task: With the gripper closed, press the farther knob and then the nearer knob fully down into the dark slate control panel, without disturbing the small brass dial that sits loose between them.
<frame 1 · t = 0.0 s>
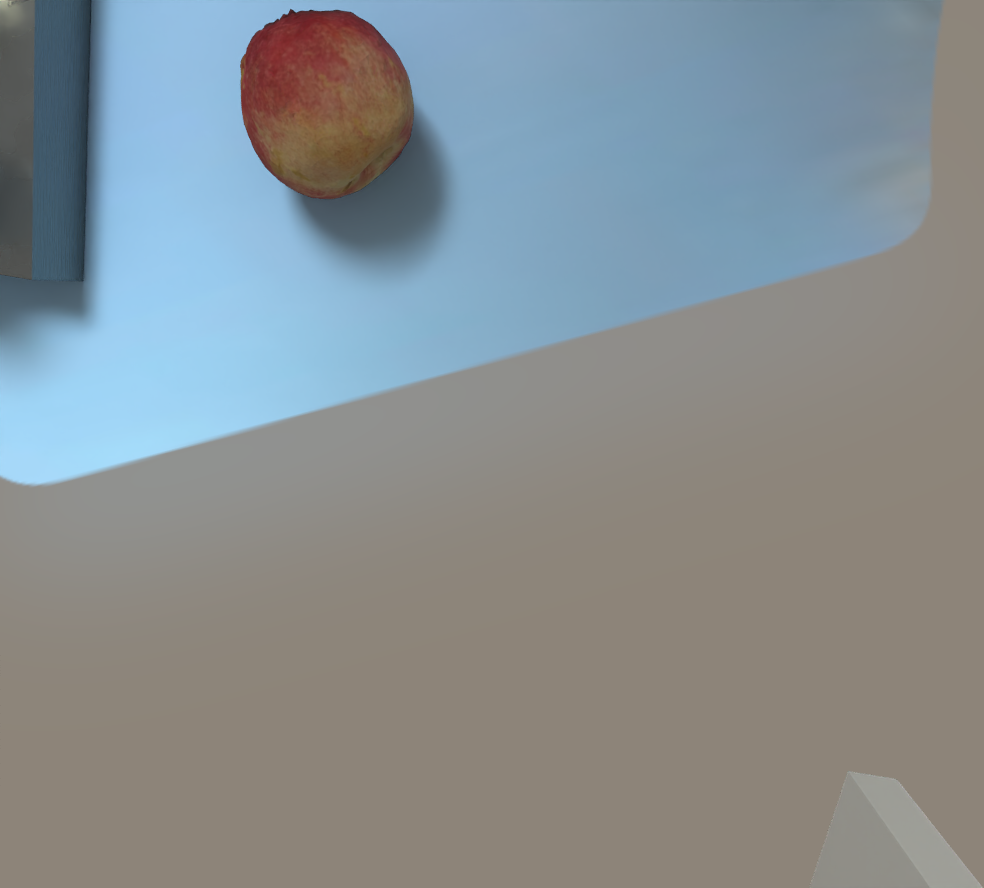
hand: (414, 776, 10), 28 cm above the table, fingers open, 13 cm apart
fruit: (350, 128, 35), on the table
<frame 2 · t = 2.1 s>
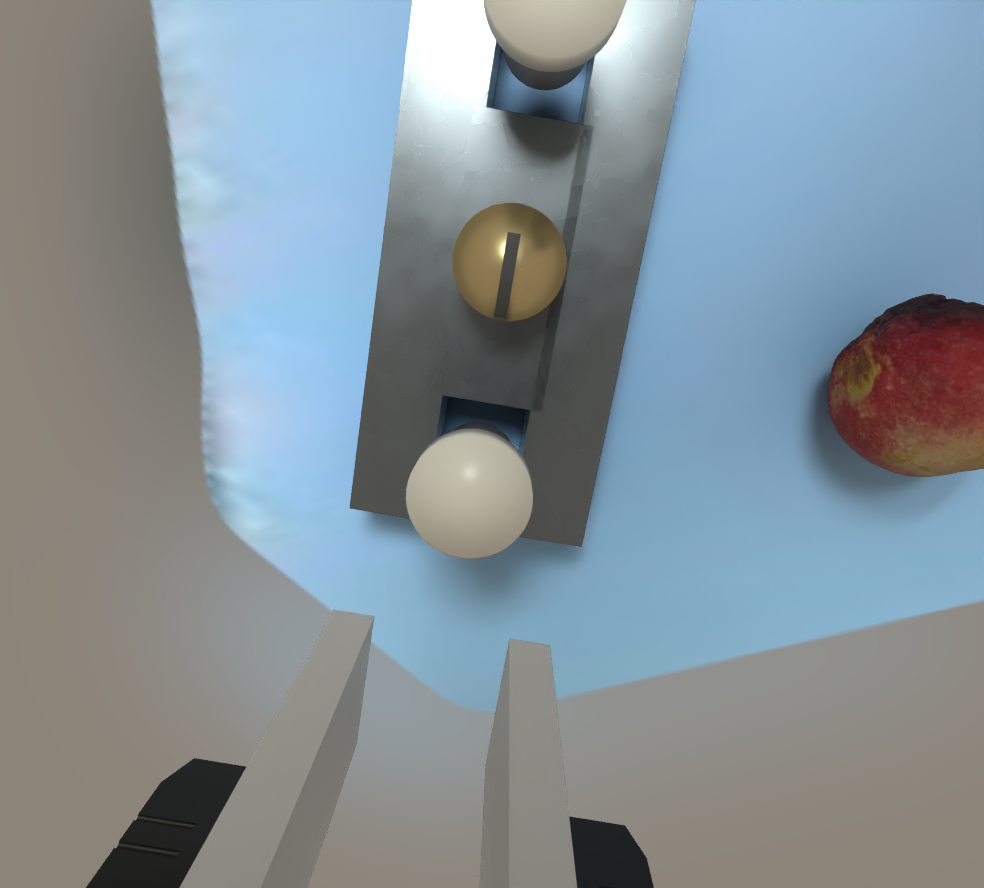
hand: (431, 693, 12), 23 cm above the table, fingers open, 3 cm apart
panel: (509, 268, 33), on the table
fruit: (877, 374, 33), on the table
brass dial: (509, 265, 29), point 4 cm above the table, touching panel
knob 2: (473, 477, 27), point 8 cm above the table, slide at 0.0 cm
knob 1: (550, 12, 23), point 8 cm above the table, slide at 0.0 cm
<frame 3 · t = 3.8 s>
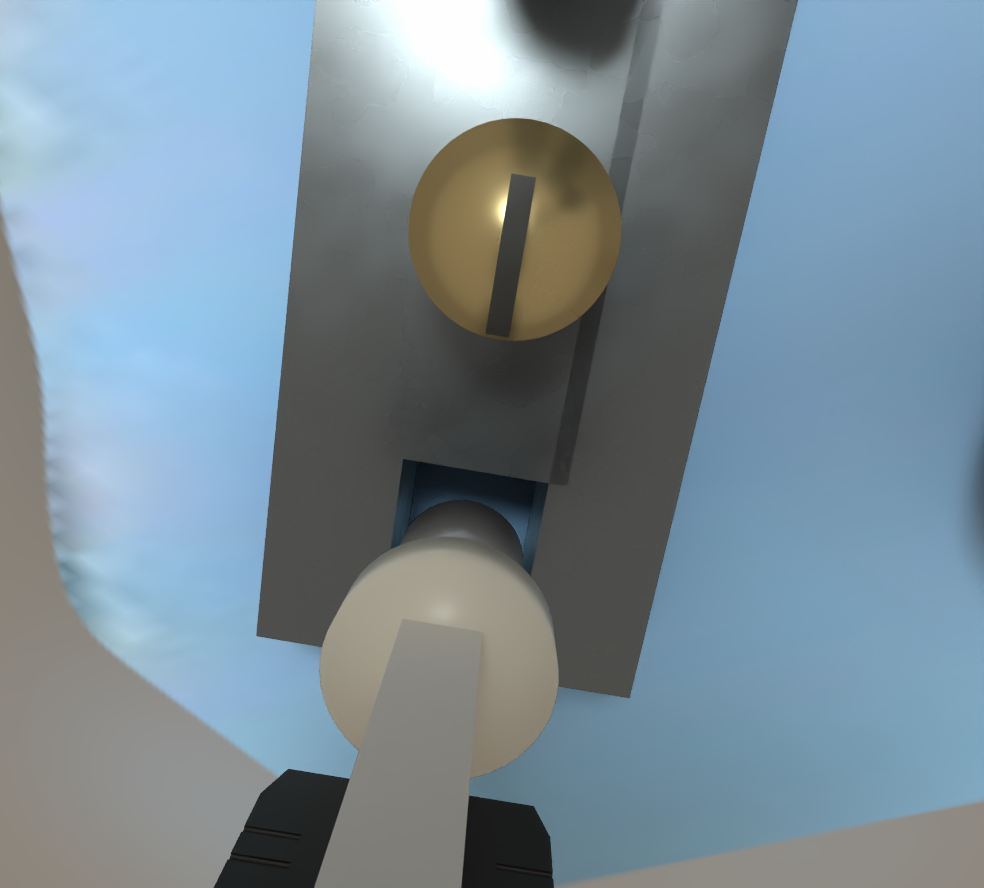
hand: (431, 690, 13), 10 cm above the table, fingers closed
panel: (513, 251, 21), on the table
brass dial: (514, 243, 17), point 4 cm above the table, touching panel
knob 2: (451, 607, 16), point 7 cm above the table, slide at 0.5 cm, touching gripper
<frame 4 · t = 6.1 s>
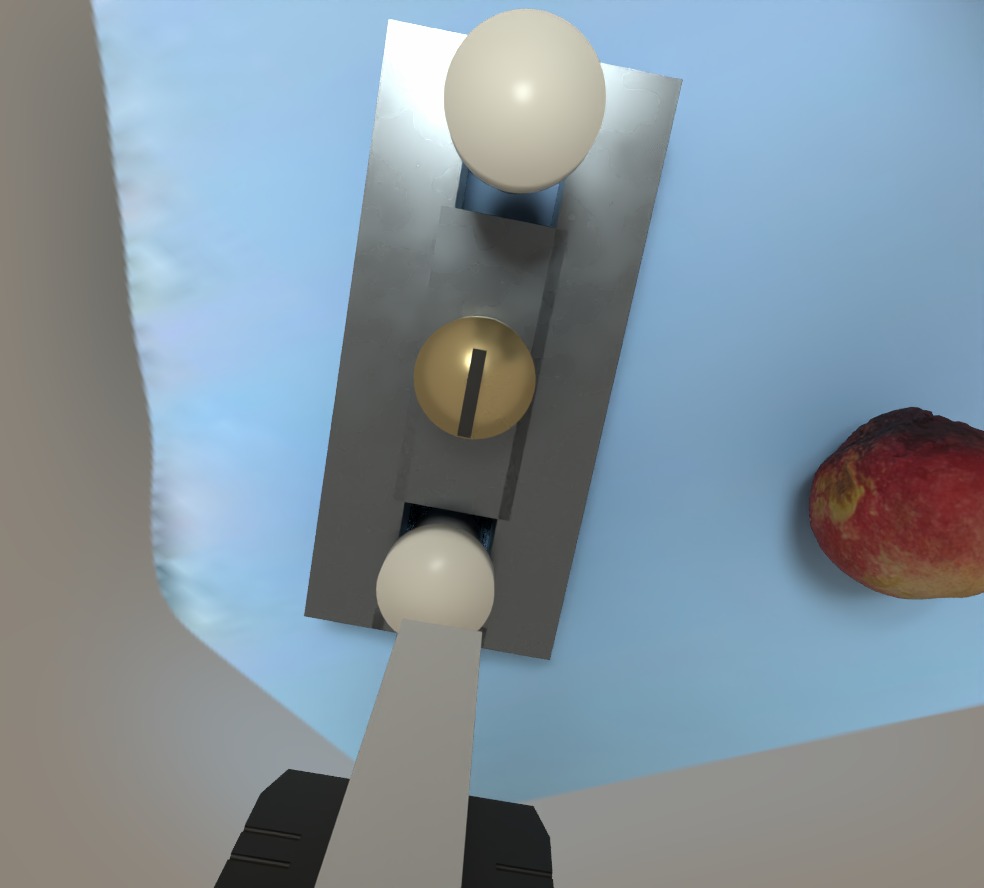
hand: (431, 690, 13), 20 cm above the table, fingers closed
panel: (479, 362, 31), on the table
fruit: (860, 477, 32), on the table
brass dial: (477, 370, 27), point 4 cm above the table, touching panel
knob 2: (441, 564, 29), point 4 cm above the table, slide at 3.7 cm
knob 1: (521, 125, 22), point 8 cm above the table, slide at 0.0 cm
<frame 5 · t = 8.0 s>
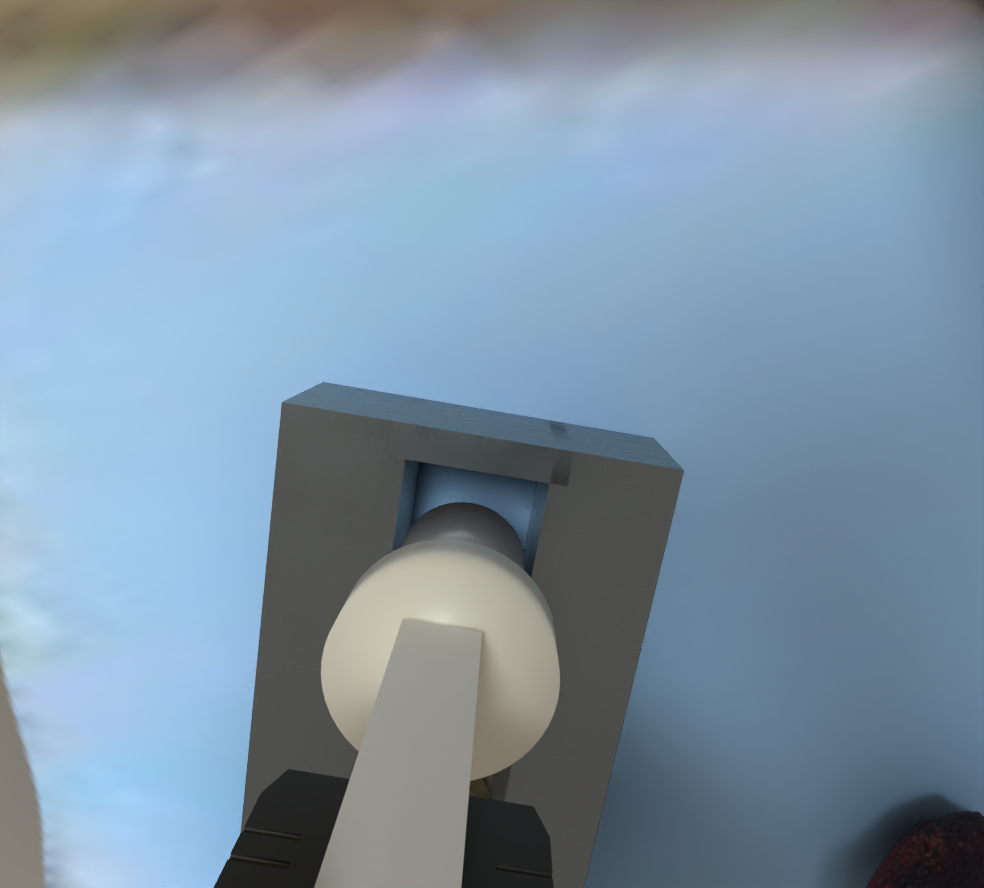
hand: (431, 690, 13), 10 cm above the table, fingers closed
panel: (435, 726, 25), on the table
fruit: (921, 849, 25), on the table
brass dial: (421, 808, 21), point 4 cm above the table, touching panel
knob 1: (453, 609, 16), point 7 cm above the table, slide at 0.3 cm, touching gripper
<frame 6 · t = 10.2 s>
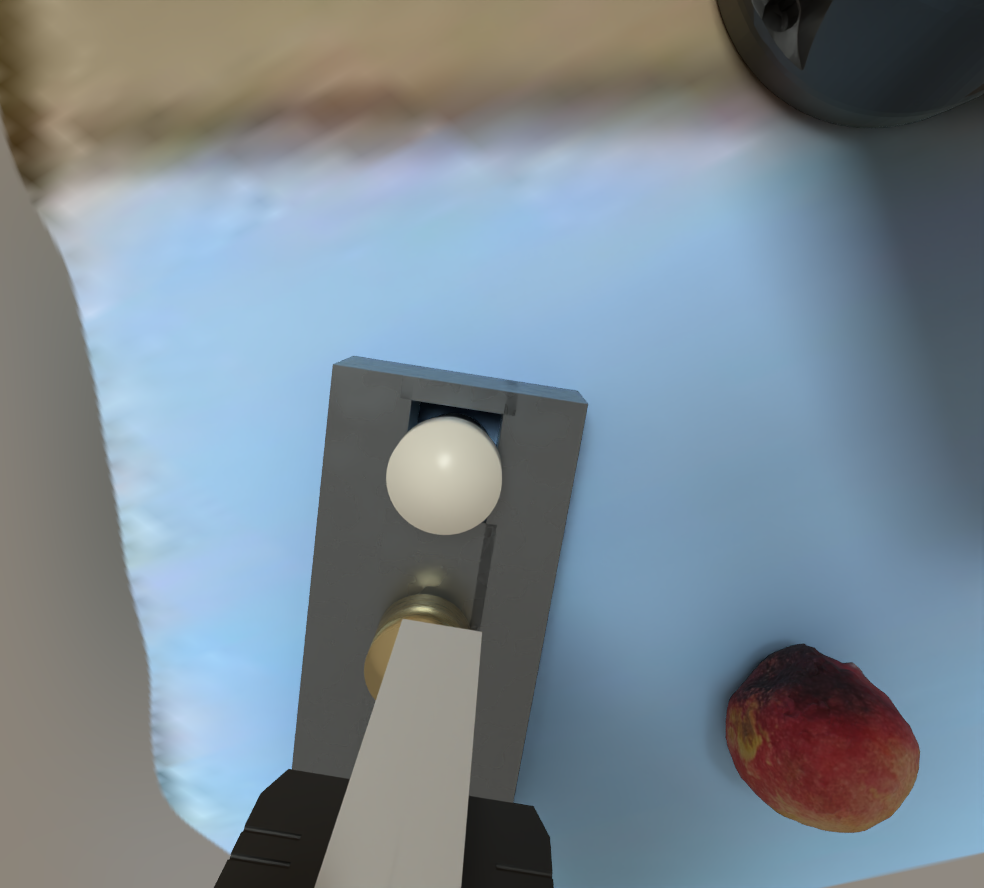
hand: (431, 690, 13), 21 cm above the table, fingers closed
panel: (433, 599, 35), on the table
fruit: (777, 683, 36), on the table
brass dial: (424, 637, 31), point 4 cm above the table, touching panel
knob 1: (449, 462, 29), point 4 cm above the table, slide at 3.7 cm
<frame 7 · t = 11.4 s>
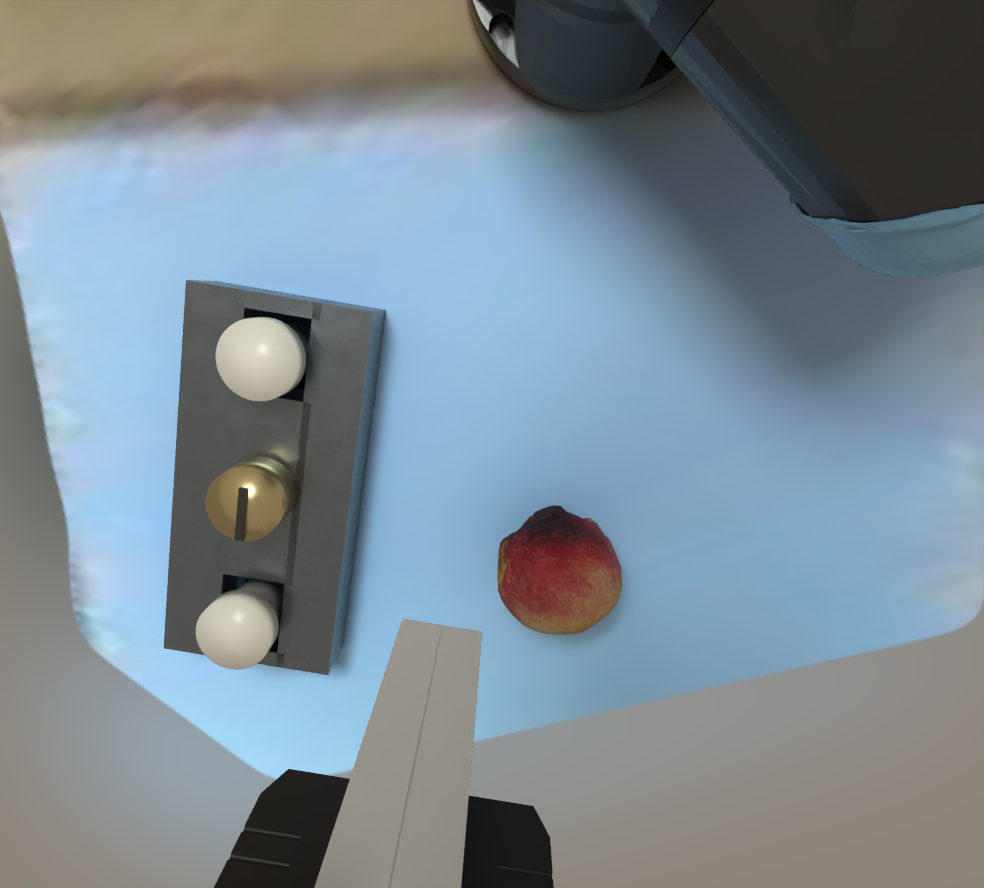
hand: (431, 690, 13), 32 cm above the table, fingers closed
panel: (282, 473, 46), on the table
fruit: (552, 545, 46), on the table
brass dial: (261, 490, 42), point 4 cm above the table, touching panel
knob 2: (250, 613, 44), point 4 cm above the table, slide at 3.7 cm
knob 1: (274, 355, 40), point 4 cm above the table, slide at 3.7 cm
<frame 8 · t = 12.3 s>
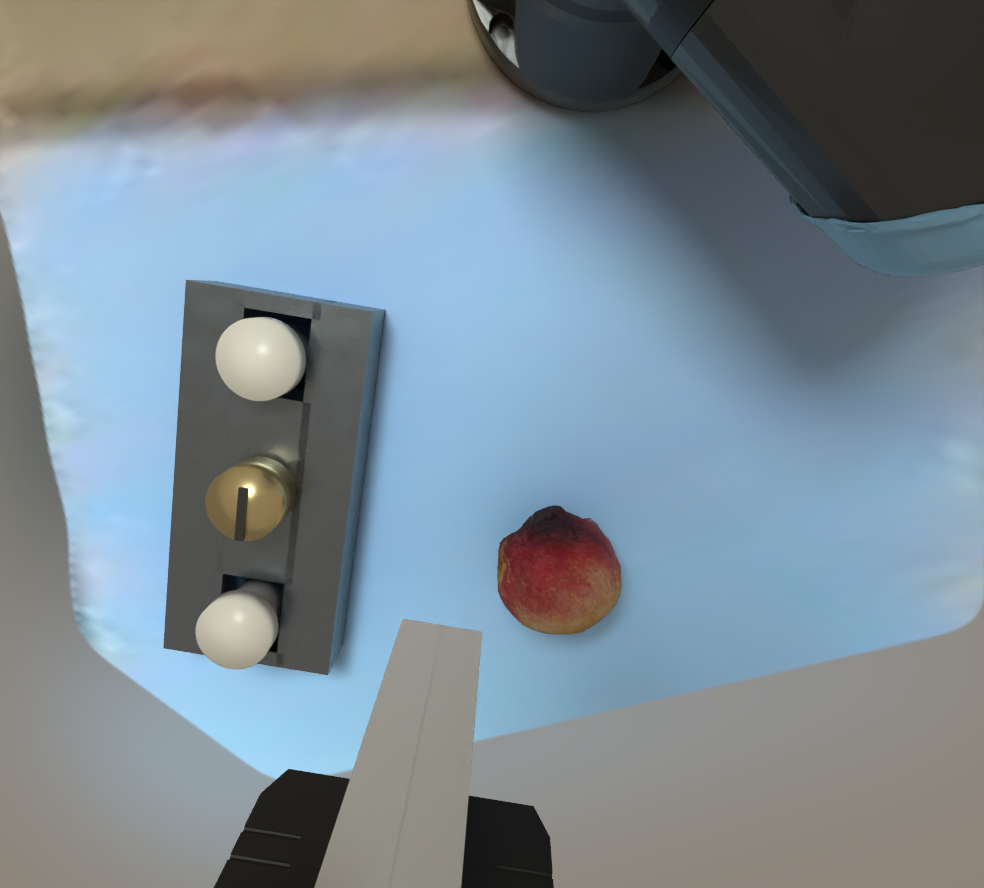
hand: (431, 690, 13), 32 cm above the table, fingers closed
panel: (282, 473, 46), on the table
fruit: (552, 545, 46), on the table
brass dial: (261, 490, 42), point 4 cm above the table, touching panel
knob 2: (250, 613, 44), point 4 cm above the table, slide at 3.7 cm
knob 1: (274, 355, 40), point 4 cm above the table, slide at 3.7 cm
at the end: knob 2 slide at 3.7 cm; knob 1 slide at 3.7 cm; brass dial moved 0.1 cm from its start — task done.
